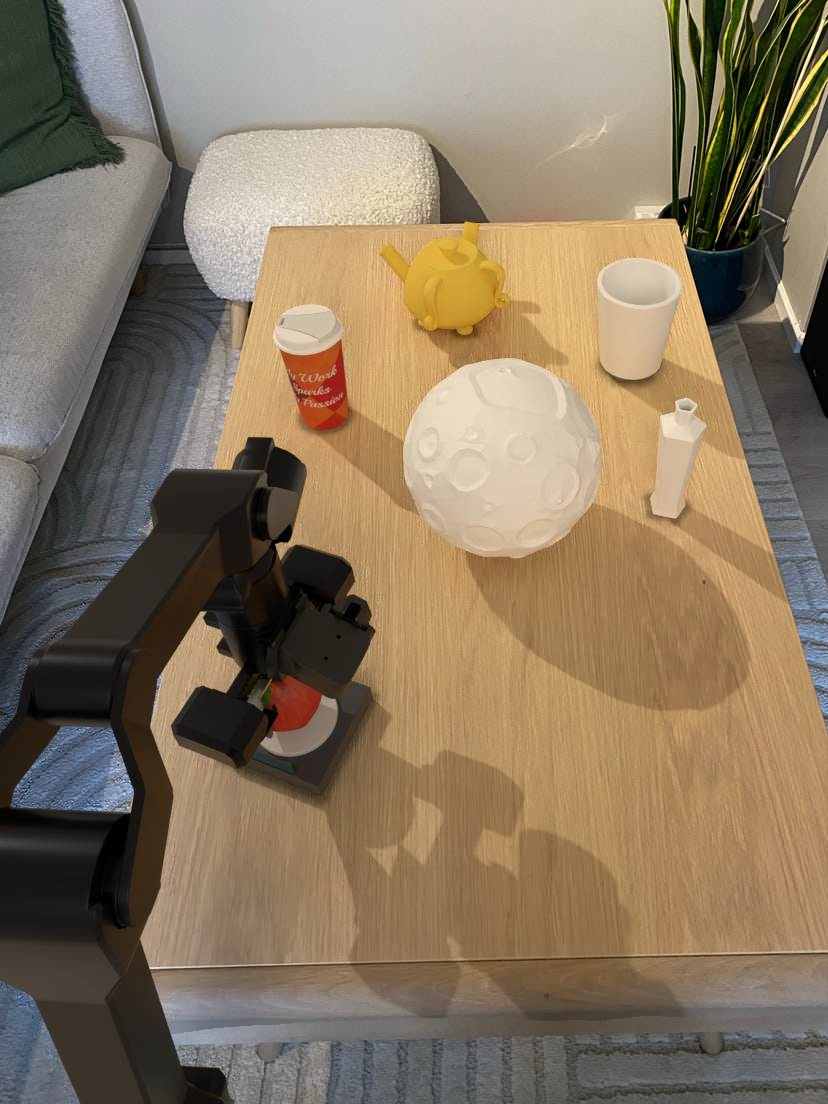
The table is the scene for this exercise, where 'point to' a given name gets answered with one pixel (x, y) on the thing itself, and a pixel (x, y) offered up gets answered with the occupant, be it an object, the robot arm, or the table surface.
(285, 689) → the spotted red fruit
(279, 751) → the scale
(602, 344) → the cup
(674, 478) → the white faceted vase
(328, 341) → the paper cup
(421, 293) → the teapot
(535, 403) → the decorative sphere
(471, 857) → the table surface
